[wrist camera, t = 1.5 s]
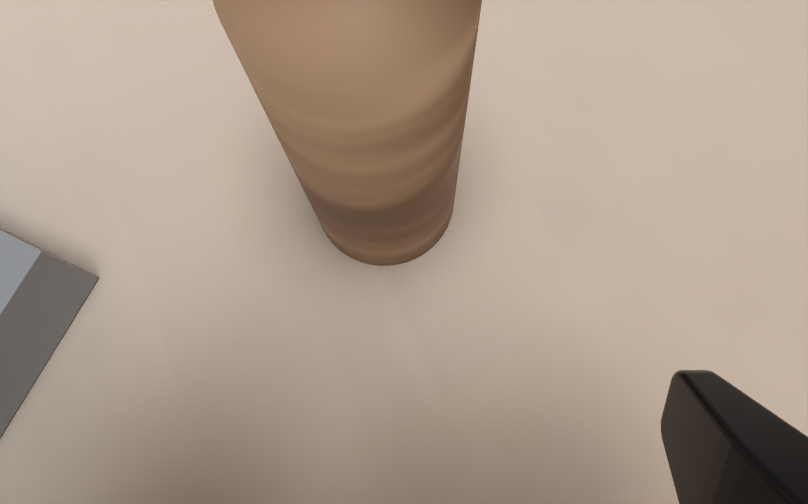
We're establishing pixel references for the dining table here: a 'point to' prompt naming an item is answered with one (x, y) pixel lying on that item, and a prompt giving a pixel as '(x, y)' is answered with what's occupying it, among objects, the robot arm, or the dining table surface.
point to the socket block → (33, 314)
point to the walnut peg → (365, 109)
